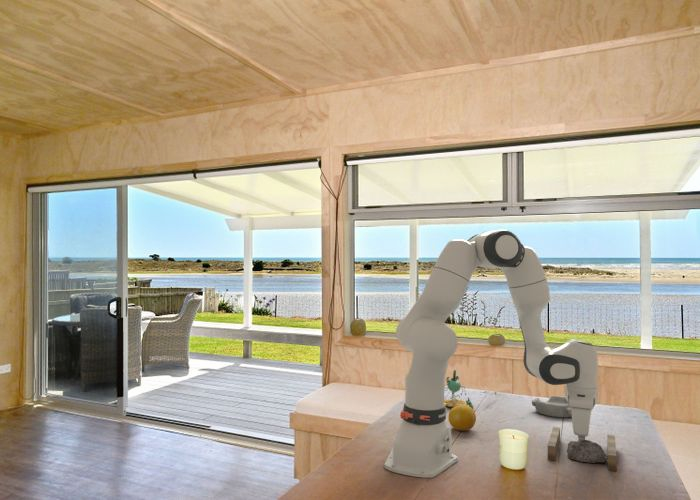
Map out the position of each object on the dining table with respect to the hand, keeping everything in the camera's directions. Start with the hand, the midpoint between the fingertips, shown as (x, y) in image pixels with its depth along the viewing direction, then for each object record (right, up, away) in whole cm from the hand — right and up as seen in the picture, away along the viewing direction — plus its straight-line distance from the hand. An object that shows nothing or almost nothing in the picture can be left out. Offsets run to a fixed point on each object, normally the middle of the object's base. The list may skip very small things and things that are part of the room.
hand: (581, 442), depth 148 cm
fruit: (-32, -3, +17) cm, 36 cm away
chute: (-2, -2, -4) cm, 5 cm away
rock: (-2, -2, -6) cm, 7 cm away
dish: (+7, -4, +36) cm, 37 cm away
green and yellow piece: (-28, -3, +44) cm, 52 cm away
